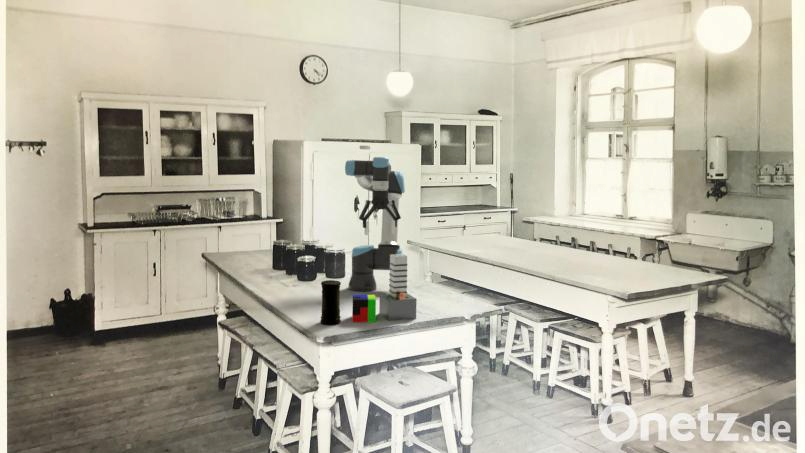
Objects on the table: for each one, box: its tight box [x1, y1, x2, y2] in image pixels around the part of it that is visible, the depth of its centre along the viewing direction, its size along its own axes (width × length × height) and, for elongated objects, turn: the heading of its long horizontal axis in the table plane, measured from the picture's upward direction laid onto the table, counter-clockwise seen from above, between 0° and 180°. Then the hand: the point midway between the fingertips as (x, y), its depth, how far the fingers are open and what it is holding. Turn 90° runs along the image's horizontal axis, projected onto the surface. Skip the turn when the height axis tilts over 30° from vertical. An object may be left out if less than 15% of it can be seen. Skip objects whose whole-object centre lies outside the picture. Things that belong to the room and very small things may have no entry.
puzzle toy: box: [351, 294, 377, 323], centre depth 292 cm, size 10×10×10 cm
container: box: [319, 279, 342, 326], centre depth 285 cm, size 9×9×18 cm
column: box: [388, 253, 408, 299], centre depth 297 cm, size 6×6×20 cm
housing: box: [378, 292, 418, 322], centre depth 298 cm, size 13×13×12 cm
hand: (379, 234), depth 314 cm, fingers open, 13 cm apart
